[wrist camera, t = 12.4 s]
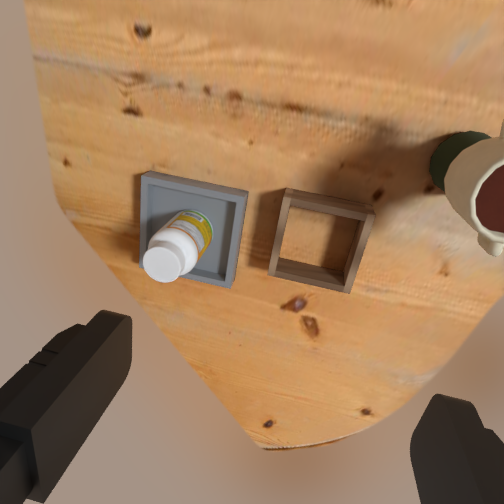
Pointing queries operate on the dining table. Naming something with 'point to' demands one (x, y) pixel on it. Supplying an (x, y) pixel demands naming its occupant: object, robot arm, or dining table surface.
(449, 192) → the character mug
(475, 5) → the dining table surface
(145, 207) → the tray
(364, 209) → the holder
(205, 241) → the supplement bottle
